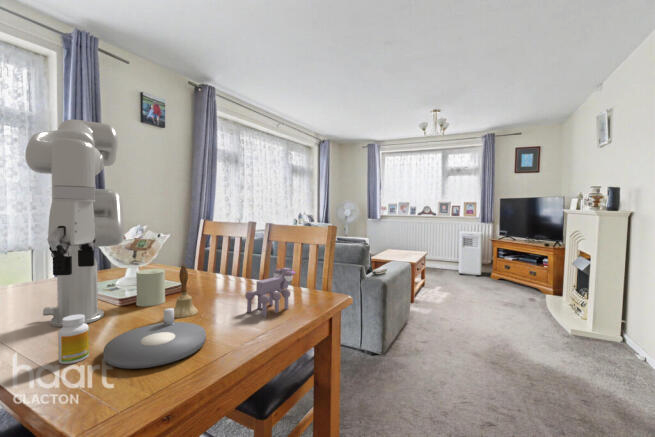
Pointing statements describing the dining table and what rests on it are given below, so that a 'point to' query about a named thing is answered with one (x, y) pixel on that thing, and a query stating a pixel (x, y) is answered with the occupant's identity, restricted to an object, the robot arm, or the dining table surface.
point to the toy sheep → (271, 290)
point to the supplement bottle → (73, 339)
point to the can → (150, 287)
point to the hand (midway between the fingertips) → (75, 270)
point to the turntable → (155, 344)
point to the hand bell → (184, 298)
